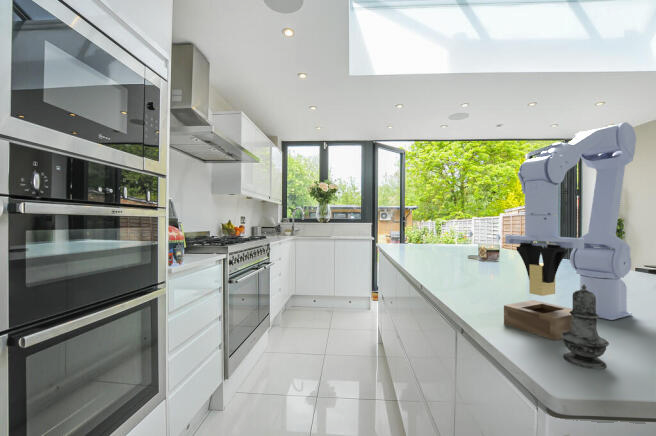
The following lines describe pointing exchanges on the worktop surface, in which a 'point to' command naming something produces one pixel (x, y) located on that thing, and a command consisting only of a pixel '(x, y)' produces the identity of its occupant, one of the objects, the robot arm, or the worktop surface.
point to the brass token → (539, 281)
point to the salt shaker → (584, 333)
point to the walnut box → (539, 318)
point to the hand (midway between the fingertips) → (541, 281)
